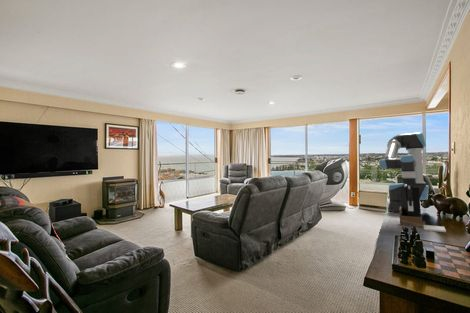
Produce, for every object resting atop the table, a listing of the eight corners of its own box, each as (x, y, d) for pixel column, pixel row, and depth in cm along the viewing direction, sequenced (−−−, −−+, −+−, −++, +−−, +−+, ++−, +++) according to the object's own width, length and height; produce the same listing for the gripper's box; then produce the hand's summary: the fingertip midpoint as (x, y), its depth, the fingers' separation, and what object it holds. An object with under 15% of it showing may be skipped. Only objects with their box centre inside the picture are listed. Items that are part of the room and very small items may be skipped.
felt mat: (423, 226, 153) (423, 224, 153) (444, 228, 147) (444, 226, 147) (424, 230, 145) (424, 228, 145) (446, 232, 139) (446, 230, 139)
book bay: (400, 220, 169) (399, 206, 170) (422, 222, 162) (420, 207, 163) (400, 224, 159) (399, 209, 160) (422, 226, 152) (421, 211, 153)
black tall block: (421, 225, 156) (418, 182, 157) (408, 225, 157) (405, 182, 158) (415, 222, 164) (412, 181, 165) (402, 222, 165) (399, 181, 166)
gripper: (402, 176, 174) (404, 205, 173) (401, 179, 154) (403, 212, 153) (415, 176, 170) (417, 206, 169) (415, 179, 149) (418, 213, 149)
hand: (410, 209), depth 161 cm, fingers open, 13 cm apart
